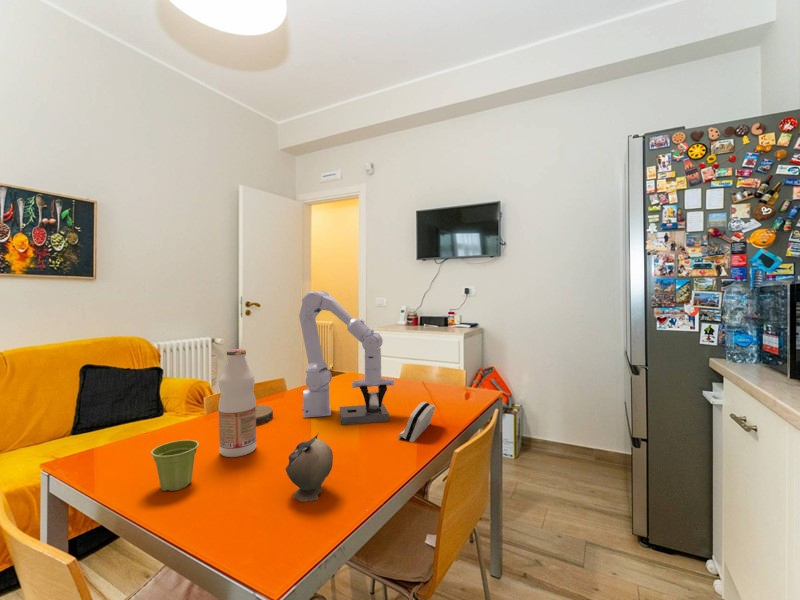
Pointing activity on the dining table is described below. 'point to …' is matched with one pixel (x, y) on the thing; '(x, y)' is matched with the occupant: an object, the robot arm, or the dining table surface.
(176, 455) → the plant pot
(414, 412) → the white black-striped wedge
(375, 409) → the cylinder
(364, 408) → the fitting block
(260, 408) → the grey round disc
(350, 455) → the dining table surface
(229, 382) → the fruit juice
